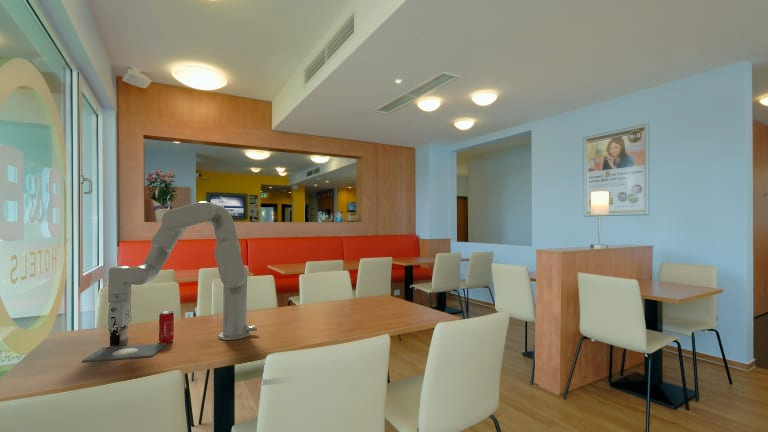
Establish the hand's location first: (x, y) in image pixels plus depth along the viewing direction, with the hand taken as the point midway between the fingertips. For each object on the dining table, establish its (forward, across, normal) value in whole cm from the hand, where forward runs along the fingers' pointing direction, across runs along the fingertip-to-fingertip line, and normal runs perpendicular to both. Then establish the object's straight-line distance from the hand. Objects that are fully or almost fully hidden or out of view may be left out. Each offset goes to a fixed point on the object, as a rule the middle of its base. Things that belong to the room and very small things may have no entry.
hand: (118, 342), depth 147 cm
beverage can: (+1, 0, -17) cm, 17 cm away
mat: (+1, -11, -7) cm, 13 cm away
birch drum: (+1, 0, 0) cm, 1 cm away
